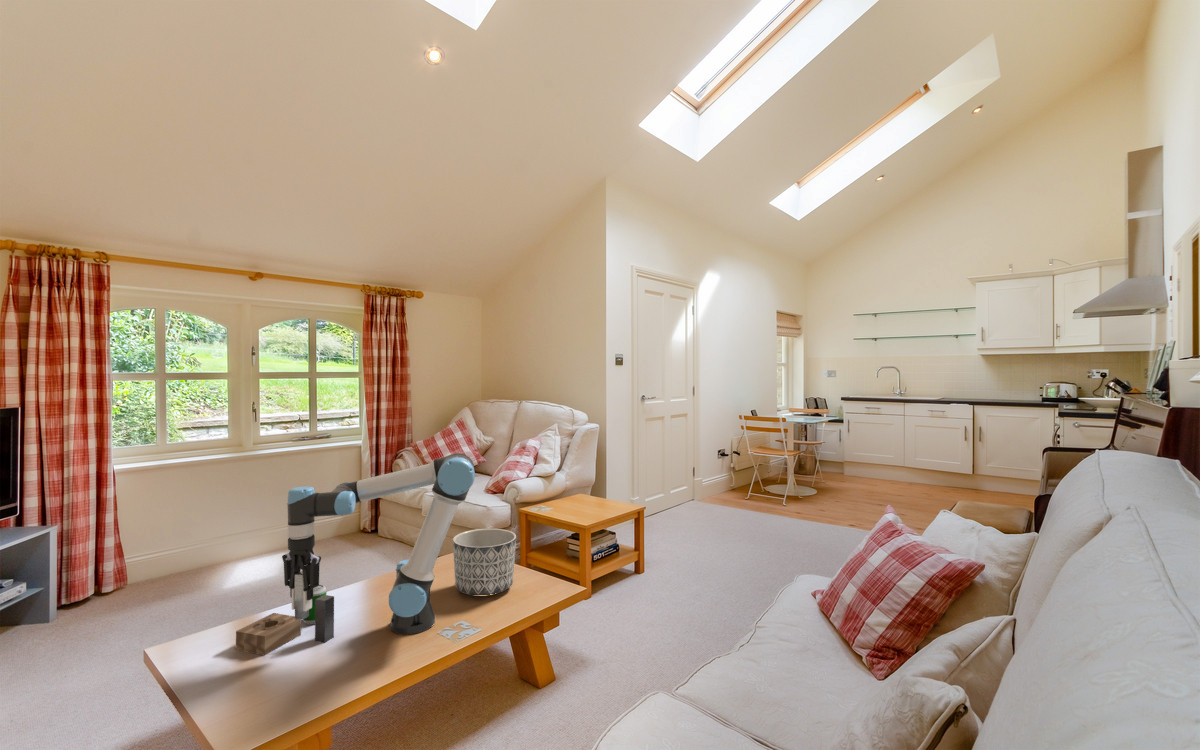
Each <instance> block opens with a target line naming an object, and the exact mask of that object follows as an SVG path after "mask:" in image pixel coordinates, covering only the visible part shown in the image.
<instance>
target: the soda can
mask: <svg viewBox="0 0 1200 750" xmlns="http://www.w3.org/2000/svg"><path fill="white" fill-rule="evenodd" d="M323 595H327V587H326V586H325V585H323V584H319V586H318V587H315V588H314V589H313V599H312V608H311V609H309V616H308V617H307V618H305V619H302V621H303V622H304V623H305V624H306V625H315V599H317V598H319V597H321V596H323Z"/></svg>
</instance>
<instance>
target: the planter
mask: <svg viewBox="0 0 1200 750" xmlns="http://www.w3.org/2000/svg"><path fill="white" fill-rule="evenodd" d="M516 545H517V535H516V533H514V532H513V531H511V530H508V529H503V528H502V529H501V528H477V529H471V530H467V531H462V532H460V533H458V534H456V535H455V536H454V537H453V538H452V547H453V548H452V549H453V564H454V585H455V586H454V587H455V589H456V590H457V591H458V592H459V593H462V594H464V595H469V596H472V595H490V594H495V593H497V594H499V593H501V592H504V591H506V590H508V589H509V588H511V586H512V585H513V582H514V572H515V556H516ZM495 595H496V594H495Z"/></svg>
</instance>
